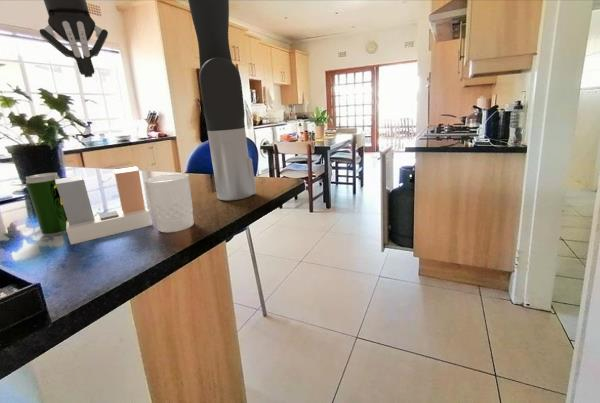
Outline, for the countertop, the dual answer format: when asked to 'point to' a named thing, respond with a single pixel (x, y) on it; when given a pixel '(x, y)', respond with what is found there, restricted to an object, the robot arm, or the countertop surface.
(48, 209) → the green coffee cup
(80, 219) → the grey rectangular block
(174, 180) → the white cup
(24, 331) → the countertop surface
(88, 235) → the switch strip
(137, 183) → the brown rectangular block
